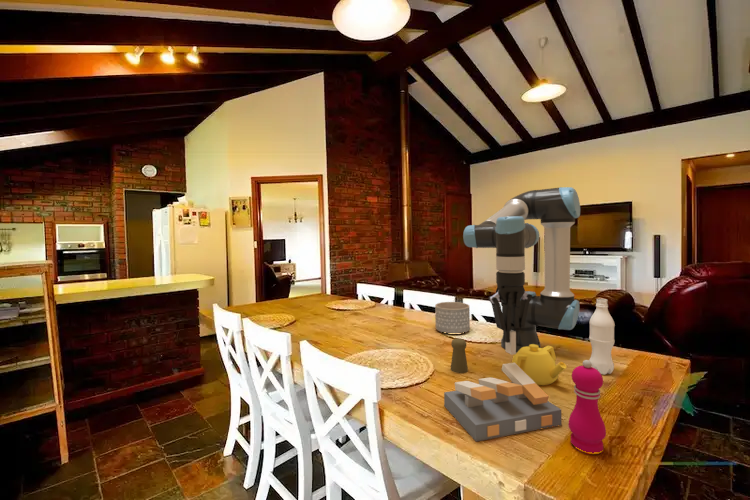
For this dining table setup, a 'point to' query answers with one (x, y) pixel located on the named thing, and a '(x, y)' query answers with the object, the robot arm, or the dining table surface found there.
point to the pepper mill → (587, 409)
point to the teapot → (539, 363)
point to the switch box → (500, 414)
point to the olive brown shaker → (459, 356)
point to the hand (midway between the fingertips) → (510, 352)
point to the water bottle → (602, 338)
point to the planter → (452, 317)
